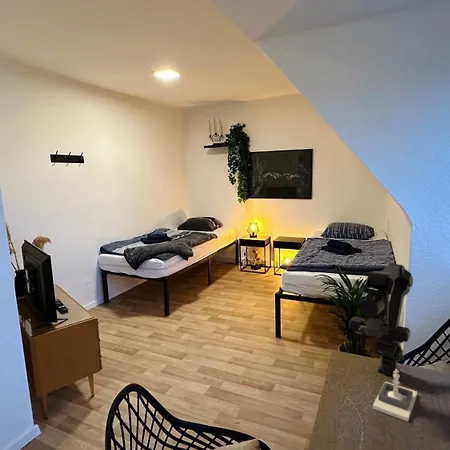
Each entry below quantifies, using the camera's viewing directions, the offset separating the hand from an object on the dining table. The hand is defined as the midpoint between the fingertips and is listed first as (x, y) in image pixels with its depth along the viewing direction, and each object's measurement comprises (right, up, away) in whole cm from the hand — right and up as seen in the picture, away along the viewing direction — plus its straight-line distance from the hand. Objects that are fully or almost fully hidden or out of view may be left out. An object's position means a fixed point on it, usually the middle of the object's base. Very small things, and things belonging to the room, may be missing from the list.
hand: (377, 351), depth 114 cm
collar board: (+3, -14, -7) cm, 16 cm away
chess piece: (+3, -13, -7) cm, 15 cm away
